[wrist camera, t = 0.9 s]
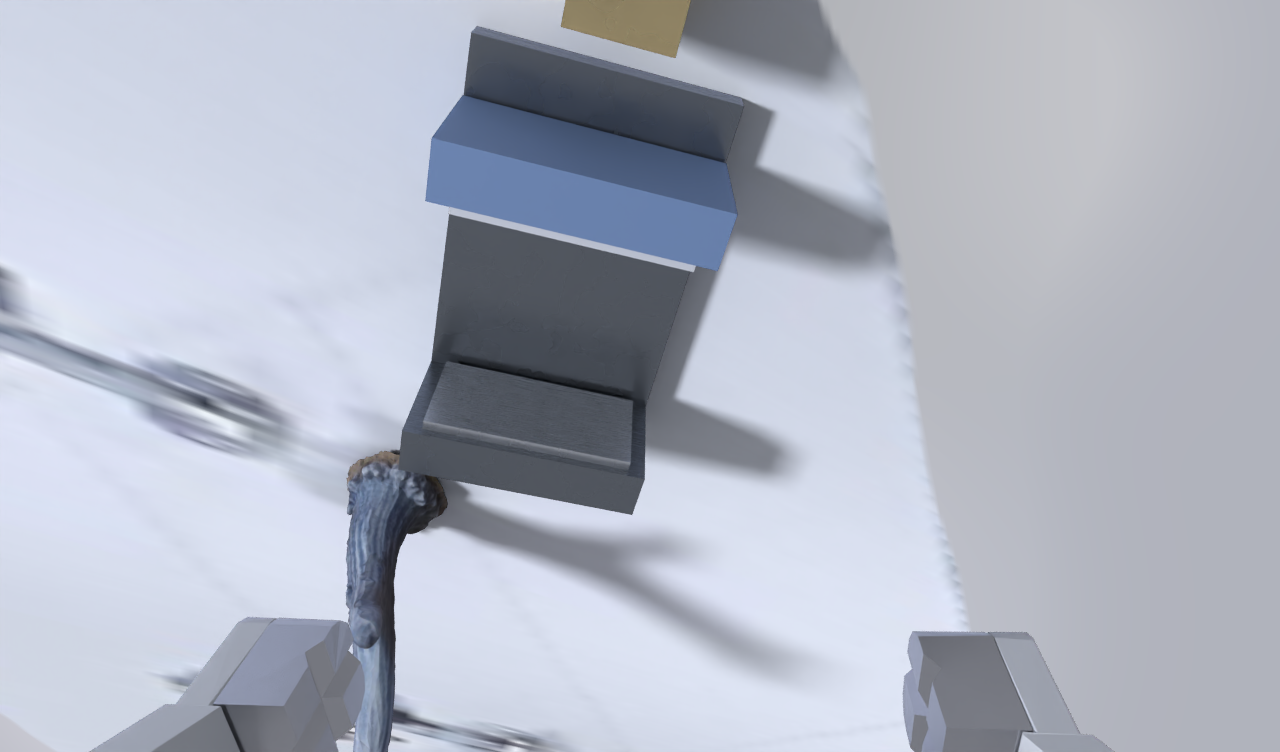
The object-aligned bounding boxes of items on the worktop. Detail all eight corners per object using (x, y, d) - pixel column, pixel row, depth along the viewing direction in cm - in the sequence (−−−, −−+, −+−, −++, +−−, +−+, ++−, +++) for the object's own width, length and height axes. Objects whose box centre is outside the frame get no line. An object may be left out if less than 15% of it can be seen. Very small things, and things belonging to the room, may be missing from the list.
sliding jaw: (462, 95, 39) (431, 137, 34) (726, 163, 41) (737, 214, 36) (454, 162, 41) (424, 212, 36) (706, 224, 43) (714, 281, 38)
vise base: (477, 25, 39) (438, 68, 32) (741, 97, 41) (759, 152, 34) (432, 384, 52) (398, 469, 45) (634, 426, 54) (632, 514, 47)
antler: (330, 461, 56) (144, 823, 36) (426, 434, 54) (290, 796, 34) (409, 564, 62) (289, 922, 42) (498, 542, 61) (418, 903, 40)
